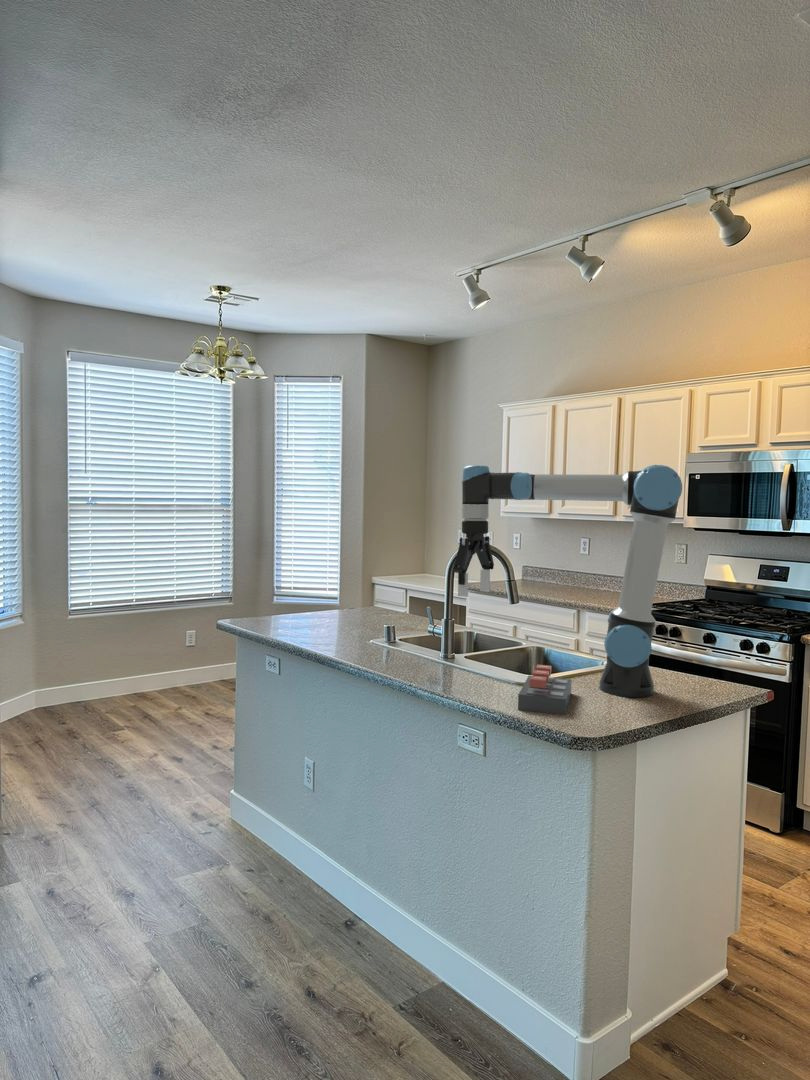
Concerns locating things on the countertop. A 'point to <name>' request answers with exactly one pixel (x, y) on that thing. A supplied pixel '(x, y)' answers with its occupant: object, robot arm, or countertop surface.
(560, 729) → the countertop surface
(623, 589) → the robot arm
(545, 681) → the button
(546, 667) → the button
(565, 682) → the dark grey flat block
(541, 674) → the button
